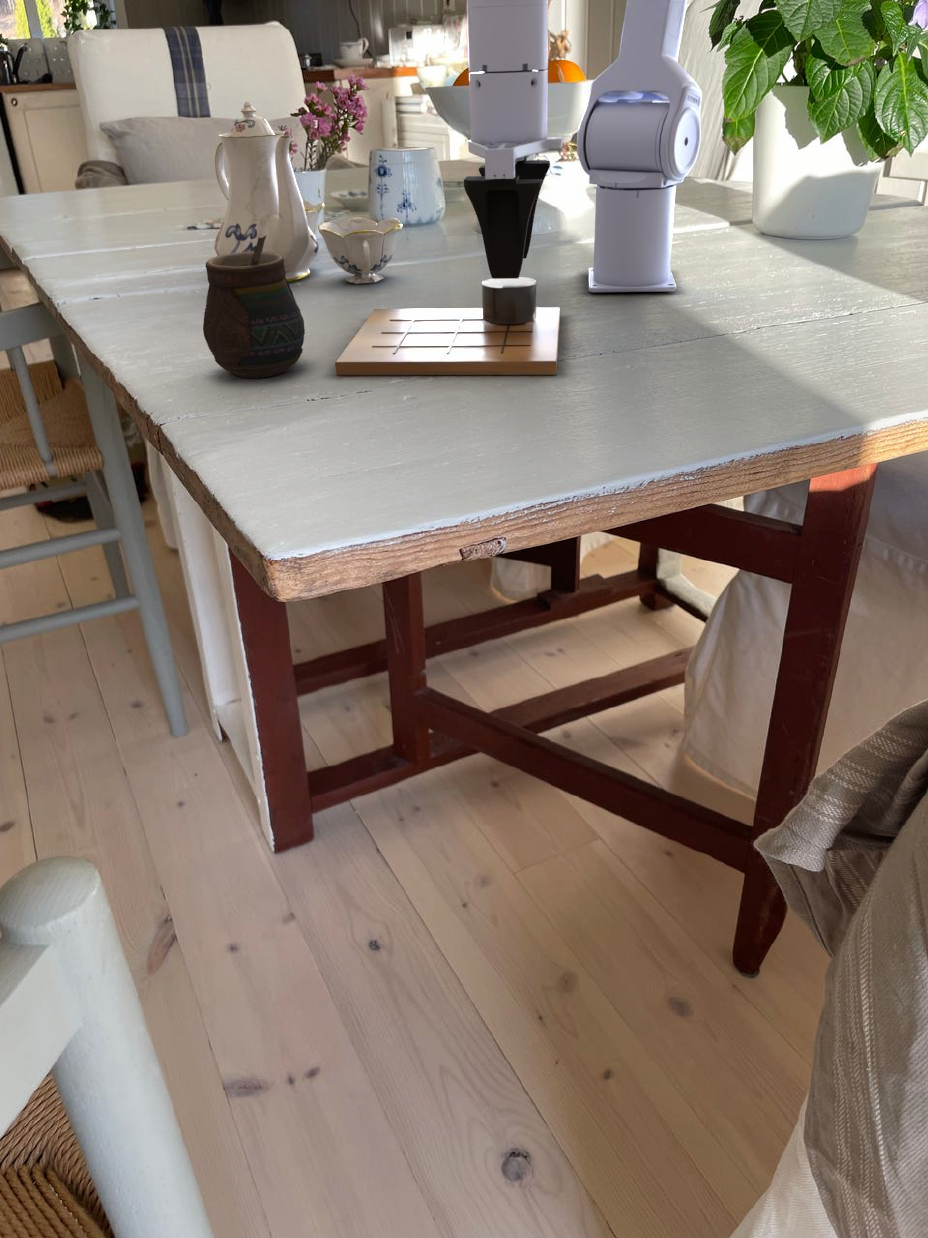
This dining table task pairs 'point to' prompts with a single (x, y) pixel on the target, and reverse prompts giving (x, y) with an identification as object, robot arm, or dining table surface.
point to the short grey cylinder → (509, 300)
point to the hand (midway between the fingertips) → (510, 267)
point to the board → (451, 344)
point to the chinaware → (288, 208)
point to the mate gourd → (252, 314)
